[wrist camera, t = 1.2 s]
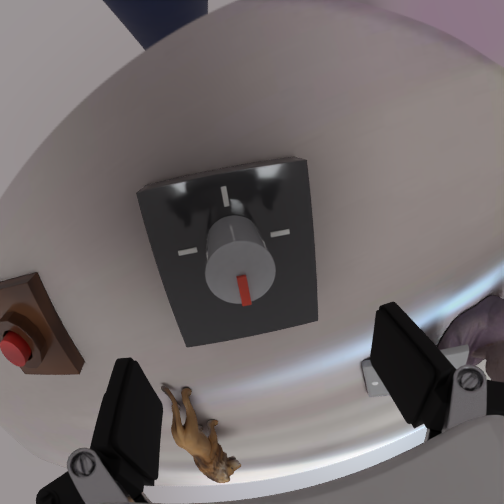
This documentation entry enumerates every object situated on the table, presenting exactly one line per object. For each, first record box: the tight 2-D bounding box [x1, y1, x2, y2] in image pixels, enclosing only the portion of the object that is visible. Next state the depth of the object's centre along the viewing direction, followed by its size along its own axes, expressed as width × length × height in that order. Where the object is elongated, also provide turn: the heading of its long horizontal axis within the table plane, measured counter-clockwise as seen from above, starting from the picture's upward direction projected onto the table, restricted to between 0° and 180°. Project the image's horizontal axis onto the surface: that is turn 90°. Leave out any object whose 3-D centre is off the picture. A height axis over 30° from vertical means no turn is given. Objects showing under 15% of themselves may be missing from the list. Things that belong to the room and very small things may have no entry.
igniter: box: [0, 272, 85, 375], centre depth 22 cm, size 12×10×4 cm
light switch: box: [362, 345, 469, 397], centre depth 32 cm, size 8×6×14 cm
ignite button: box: [0, 331, 31, 367], centre depth 20 cm, size 4×4×2 cm
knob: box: [205, 215, 276, 306], centre depth 18 cm, size 4×4×5 cm
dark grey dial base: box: [136, 156, 318, 347], centre depth 23 cm, size 14×12×3 cm
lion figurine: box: [161, 386, 241, 483], centre depth 28 cm, size 15×5×9 cm, turn 26°
